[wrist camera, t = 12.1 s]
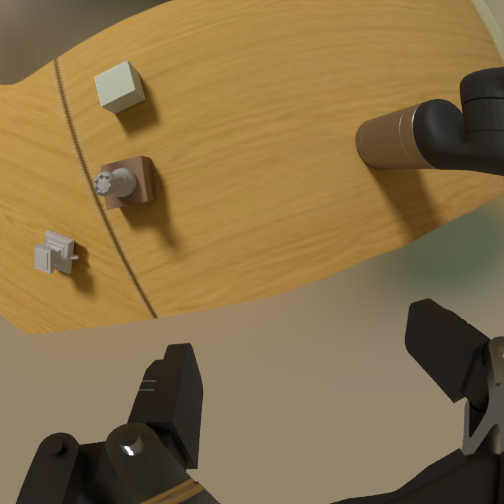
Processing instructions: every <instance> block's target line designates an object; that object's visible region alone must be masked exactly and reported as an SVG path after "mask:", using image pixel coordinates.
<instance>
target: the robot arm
mask: <svg viewBox="0 0 504 504" xmlns="http://www.w3.org/2000/svg"><path fill="white" fill-rule="evenodd" d="M460 98H461V105H462V111H463V114H462V112H461V111H460V110H459V109H458V108H457V107H456V106H455V105H454V104H452V103H451V102H449V101H447V100H443V99H434V100H430V101H426V102H424V103H420V104H417V105H414V106H411V107H408V108H404V109H401V110H398V111H395V112H392V113H389V114H386V115H383V116H380V117H377V118H374V119H371V120H368V121H366V122H364V123H363V124H362V125H361V126H360V128H359V129H358V131H357V134H356V147H357V150H358V153H359V155H360V156H361V158H362V159H363V161H364V162H365V163H367V164H368V165H369V166H371V167H373V168H377V169H440V170H469V171H477V172H483V173H489V174H495V175H500V176H504V67H499V68H490V69H484V70H480V71H476V72H473V73H471V74H468V75H467V76H465V77H464V78H463V79H462V81H461V83H460ZM405 346H406V349H407V351H408V352H409V354H410V355H411V356H412V357H413V358H414V359H415V360H416V361H417V362H418V363H419V365H420V366H421V367H422V368H423V369H424V370H425V371H426V372H427V373H428V374H429V375H430V377H431V378H432V379H433V380H434V381H435V382H436V383H437V384H438V386H439V387H440V388H441V389H442V390H443V391H444V392H445V393H446V395H447V396H448V397H449V398H450V399H451V400H452V401H453V403H455V402H457V401H458V400H460V399H462V398H464V397H466V398H467V401H466V403H465V412H464V414H465V415H464V436H463V446H462V450H460V449H457V450H455V451H454V452H452V453H450V454H449V455H447V456H445V457H444V458H442V459H440V460H438V461H436V462H435V463H433V464H431V465H429V466H428V467H427V468H425V469H424V470H423V471H422V472H421V473H419V474H418V475H417V476H416V477H415V478H413V479H412V480H411V481H409V482H408V483H406V484H405V485H404V486H403V487H401V488H400V489H398V490H396V491H394V492H390V493H385V494H379V495H373V496H366V497H358V498H349V499H345V500H342V501H339V502H334V503H331V504H504V337H503V336H501V337H495V338H493V339H492V340H491V339H489V338H488V337H487V336H485V335H484V334H483V333H481V332H480V331H478V330H477V329H476V328H475V327H473V326H472V325H470V324H467V322H466V321H465V320H464V319H461V318H460V317H459V316H458V315H456V314H455V313H453V312H452V311H450V310H447V309H444V308H443V307H441V306H440V305H439V304H437V303H436V302H434V301H433V300H431V299H429V298H428V299H424V300H420V301H417V302H413V303H412V304H411V305H410V307H409V313H408V320H407V327H406V333H405ZM202 401H203V385H202V379H201V376H200V372H199V369H198V365H197V362H196V358H195V355H194V351H193V348H192V345H191V344H190V343H185V344H172V345H168V347H167V349H166V353H165V356H164V359H163V360H155V361H154V362H153V363H152V364H151V365H150V366H149V367H148V368H147V369H146V372H145V374H144V377H143V382H142V383H141V385H140V388H139V391H138V394H137V396H136V399H135V402H134V405H133V407H132V410H131V413H130V416H129V419H128V422H127V424H123V425H121V426H119V427H117V428H116V429H114V430H113V431H112V432H111V433H110V434H109V435H108V437H107V439H106V441H104V442H98V443H91V444H82V445H80V444H79V443H78V442H77V441H76V440H75V438H74V437H73V436H71V435H70V434H67V433H55V434H52V435H50V436H48V437H46V438H45V439H44V440H43V441H42V442H41V444H40V445H39V448H38V450H37V452H36V454H35V456H34V459H33V461H32V463H31V466H30V468H29V470H28V473H27V475H26V478H25V480H24V483H23V485H22V488H21V491H20V494H19V496H18V499H17V502H16V504H220V503H219V502H218V501H217V500H216V499H215V498H214V497H213V496H212V495H211V494H210V493H209V492H208V491H207V490H206V489H205V488H204V487H203V486H202V485H201V484H200V483H198V482H195V481H194V480H193V479H192V478H191V477H190V475H189V474H188V473H187V472H186V469H197V467H198V452H199V438H200V425H201V413H202V412H201V411H202Z"/></svg>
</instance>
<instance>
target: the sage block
mask: <svg viewBox="0 0 504 504" xmlns="http://www.w3.org/2000/svg"><path fill="white" fill-rule="evenodd" d="M95 82H96V87H97V91H98V96H99V100H100V104H101V107H103V108H105V109H106V110H108V111H110V112H112V113H114V114H116V113H118V112H120V111H122V110H124V109H126V108H128V107H130V106H132V105H135V104H137V103H139V102H141V101H144V100H146V98H145V95H144V91H143V88H142V84H141V81H140V77H139V73H138V71H137V70H136V69H135V68H134V67H133V66H132V65H131V64H130V62H129V61H128V60H127V61H125V62H123V63H121V64H119V65H116V66H114V67H113V68H111V69H109V70H107V71H105V72H103V73H101V74H99V75H97V76H95Z"/></svg>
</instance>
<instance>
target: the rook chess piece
mask: <svg viewBox="0 0 504 504" xmlns="http://www.w3.org/2000/svg"><path fill="white" fill-rule="evenodd" d="M135 187H136V178H135V174H134V173H133V172H132V171H131V170H129V169H127V168H119V169H116V170H114V171H113V172H112V173H110V172H108V171H103V172H101V173H99V174H98V175H97V177H96V178H95V180H94V189H95V191H96V192H97V193H98V194H99V195H100V196H109V195H110V194H113V195H115V196H116V197H126V196H129V195H130V194H131V193H132V192H133V191H134V189H135Z"/></svg>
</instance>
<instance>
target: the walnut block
mask: <svg viewBox="0 0 504 504" xmlns="http://www.w3.org/2000/svg"><path fill="white" fill-rule="evenodd" d="M119 168H127V169H129V170H131V171H132V172H133V173H134V174H135V178H136V187H135V189H134V191H133V192H132V193H131V194H130V195H129V196H126V197H116V196H115V195H113V194H110V195H109V196H105V201H106V207H107V210H109V209H113V208H118V207H123V206H128V205H132V204H137V203H143V202H148V201H151V200H154V199H156V196H155V190H154V183H153V175H152V168H151V160H150V158H149V157H144V156H138V157H134V158H130V159H125V160H121V161H118V162H114V163H110V164H106V165H103V166H101V172H103V171H108V172H110V173H112V172H113V171H114V170H116V169H119Z"/></svg>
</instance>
